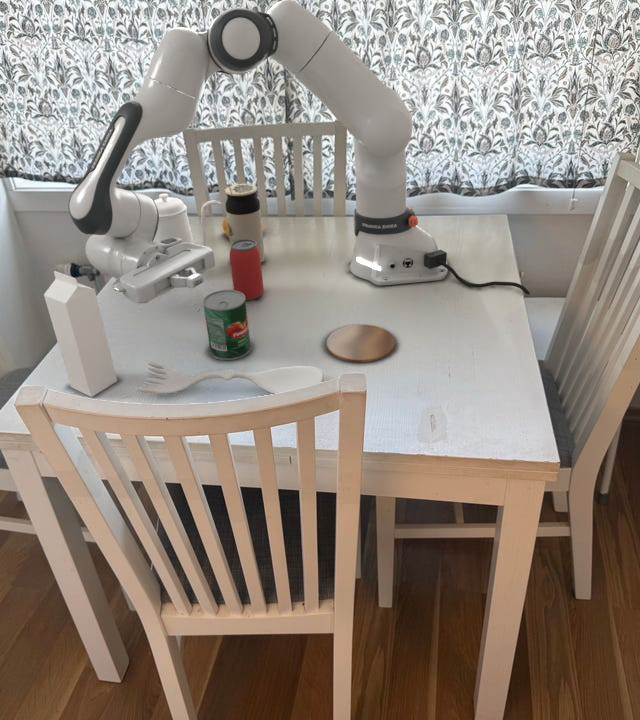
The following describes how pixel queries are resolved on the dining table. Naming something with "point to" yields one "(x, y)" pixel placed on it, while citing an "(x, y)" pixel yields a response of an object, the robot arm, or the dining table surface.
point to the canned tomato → (227, 324)
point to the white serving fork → (266, 380)
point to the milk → (80, 334)
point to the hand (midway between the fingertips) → (198, 281)
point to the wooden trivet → (360, 343)
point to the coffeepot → (177, 219)
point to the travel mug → (244, 215)
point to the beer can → (246, 268)
